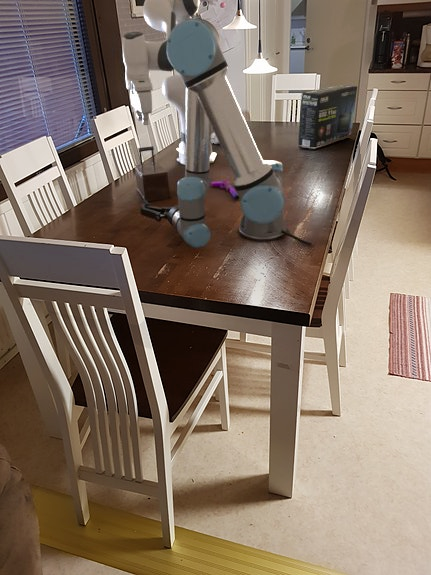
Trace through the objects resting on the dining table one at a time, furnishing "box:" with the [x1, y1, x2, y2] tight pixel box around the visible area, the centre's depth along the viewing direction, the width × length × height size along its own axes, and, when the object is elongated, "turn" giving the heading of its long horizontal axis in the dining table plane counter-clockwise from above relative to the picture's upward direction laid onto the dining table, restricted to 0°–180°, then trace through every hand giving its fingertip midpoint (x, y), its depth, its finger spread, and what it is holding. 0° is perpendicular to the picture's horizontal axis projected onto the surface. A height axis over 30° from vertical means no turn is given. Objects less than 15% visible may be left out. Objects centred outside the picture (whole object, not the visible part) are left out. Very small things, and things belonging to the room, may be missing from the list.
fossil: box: [211, 131, 220, 145], centre depth 254 cm, size 18×11×15 cm
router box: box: [297, 84, 358, 151], centre depth 238 cm, size 36×11×27 cm, turn 134°
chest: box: [134, 168, 171, 203], centre depth 182 cm, size 14×10×10 cm
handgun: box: [210, 180, 240, 201], centre depth 183 cm, size 21×8×2 cm, turn 11°
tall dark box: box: [133, 145, 169, 178], centre depth 178 cm, size 15×10×8 cm
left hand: (142, 122), depth 175 cm, fingers open, 8 cm apart
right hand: (162, 199), depth 162 cm, fingers open, 13 cm apart
